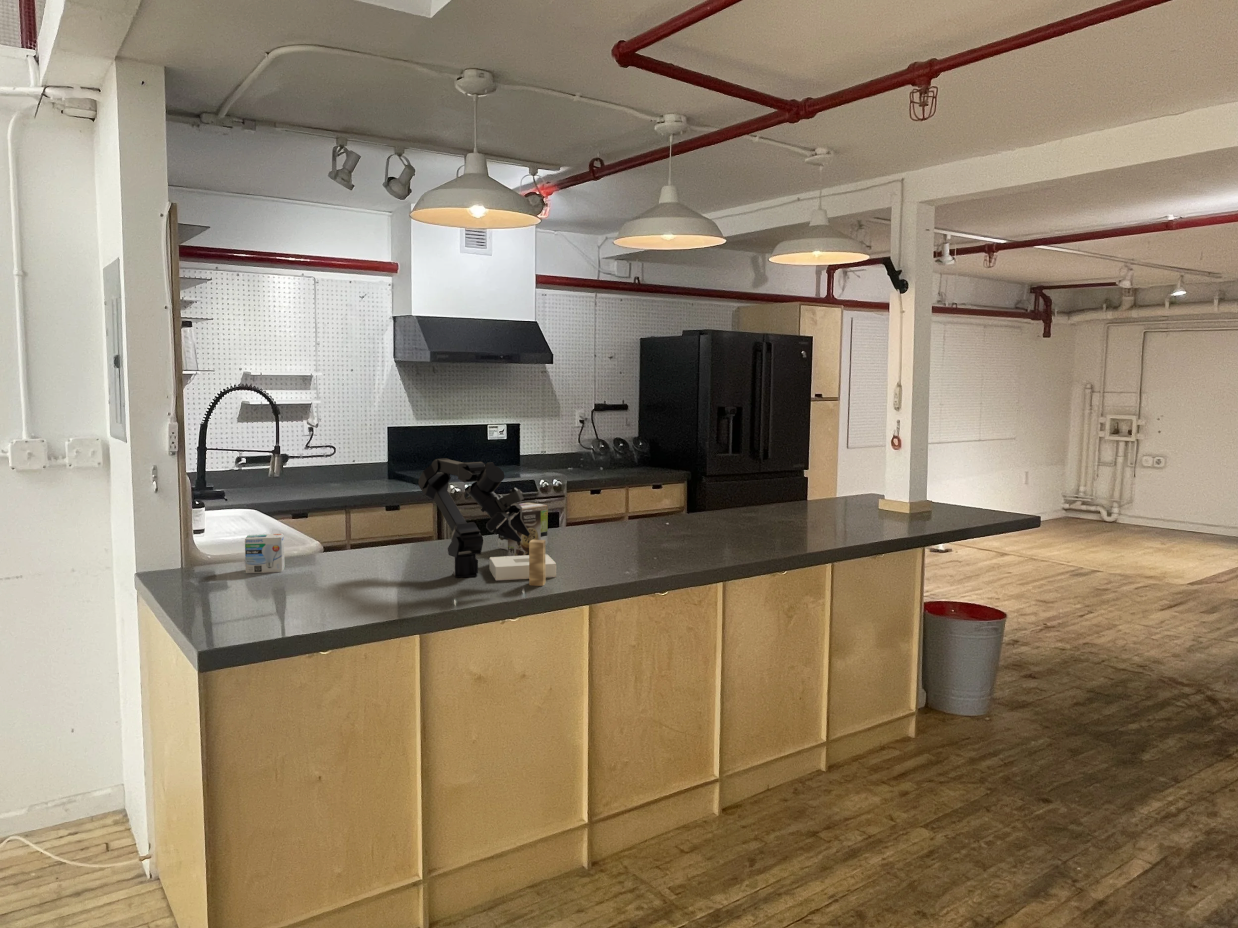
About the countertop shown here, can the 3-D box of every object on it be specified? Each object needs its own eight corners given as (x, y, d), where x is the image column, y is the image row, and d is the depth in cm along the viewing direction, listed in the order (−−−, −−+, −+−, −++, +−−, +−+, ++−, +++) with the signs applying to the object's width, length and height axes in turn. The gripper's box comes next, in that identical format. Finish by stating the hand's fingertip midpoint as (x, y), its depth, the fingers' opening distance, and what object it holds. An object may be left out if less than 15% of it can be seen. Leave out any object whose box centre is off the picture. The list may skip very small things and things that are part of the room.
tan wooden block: (529, 585, 253) (529, 542, 252) (531, 582, 257) (531, 539, 256) (543, 585, 253) (543, 542, 252) (545, 582, 257) (545, 539, 256)
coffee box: (518, 562, 283) (517, 512, 281) (507, 559, 288) (506, 510, 286) (541, 559, 289) (541, 510, 287) (530, 555, 294) (530, 507, 292)
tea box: (518, 552, 299) (518, 509, 298) (497, 548, 305) (497, 506, 304) (548, 545, 311) (548, 503, 310) (527, 542, 317) (527, 501, 316)
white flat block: (495, 580, 259) (495, 566, 259) (489, 569, 272) (489, 557, 272) (556, 576, 264) (556, 563, 263) (547, 566, 277) (547, 554, 277)
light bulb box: (245, 574, 265) (243, 538, 264) (248, 569, 272) (246, 534, 271) (283, 572, 268) (282, 536, 267) (285, 567, 275) (284, 532, 273)
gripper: (496, 484, 245) (535, 524, 244) (515, 476, 263) (551, 514, 262) (469, 511, 247) (508, 552, 246) (490, 501, 265) (526, 539, 264)
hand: (524, 538), depth 255 cm, fingers open, 9 cm apart
